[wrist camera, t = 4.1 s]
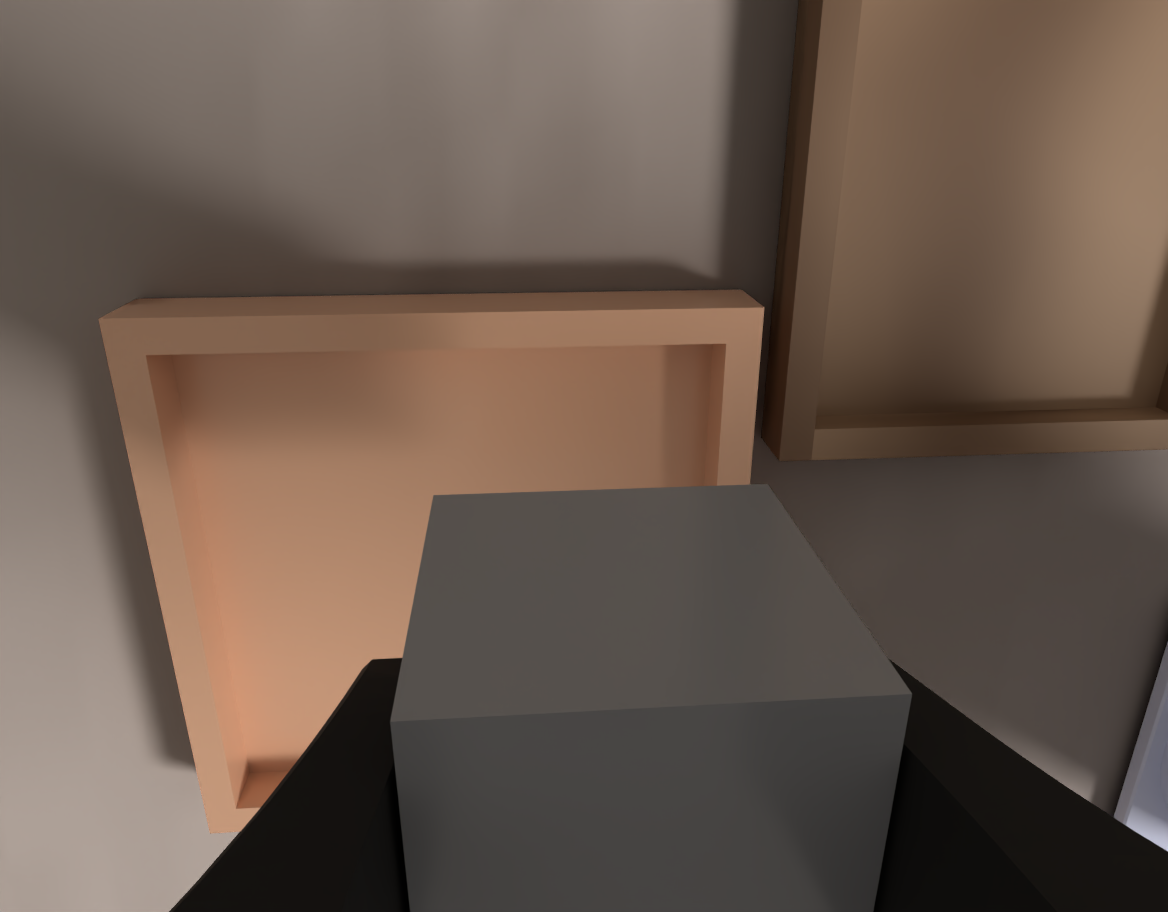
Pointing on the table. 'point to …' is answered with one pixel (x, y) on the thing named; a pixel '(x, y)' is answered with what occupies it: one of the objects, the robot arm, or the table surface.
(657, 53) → the table surface
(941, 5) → the walnut tray
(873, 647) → the slate gray cube
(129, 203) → the table surface
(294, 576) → the terracotta dish
